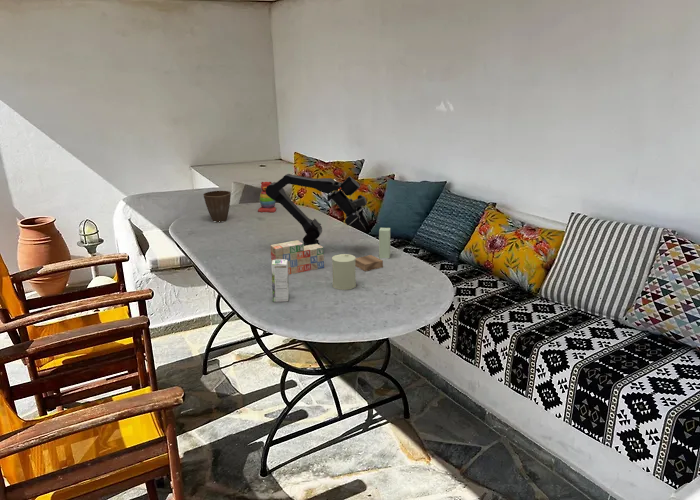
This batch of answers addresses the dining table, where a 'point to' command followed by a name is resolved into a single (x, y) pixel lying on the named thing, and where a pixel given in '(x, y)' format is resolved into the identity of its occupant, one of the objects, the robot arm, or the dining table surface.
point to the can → (344, 271)
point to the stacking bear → (266, 200)
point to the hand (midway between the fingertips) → (366, 228)
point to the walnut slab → (368, 263)
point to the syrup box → (280, 280)
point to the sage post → (384, 243)
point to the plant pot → (218, 204)
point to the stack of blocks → (299, 256)
